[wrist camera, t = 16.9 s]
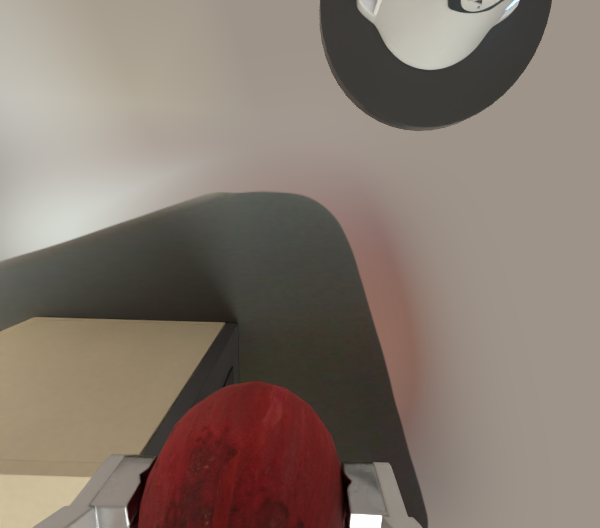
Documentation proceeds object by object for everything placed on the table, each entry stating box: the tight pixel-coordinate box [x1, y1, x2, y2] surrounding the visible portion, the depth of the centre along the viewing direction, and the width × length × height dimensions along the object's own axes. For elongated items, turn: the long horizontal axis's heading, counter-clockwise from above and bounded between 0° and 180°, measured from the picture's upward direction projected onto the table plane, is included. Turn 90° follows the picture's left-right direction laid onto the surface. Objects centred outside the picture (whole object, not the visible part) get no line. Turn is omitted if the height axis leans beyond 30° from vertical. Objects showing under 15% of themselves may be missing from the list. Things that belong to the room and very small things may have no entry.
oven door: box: [142, 323, 239, 456], centre depth 33 cm, size 7×32×24 cm, turn 179°
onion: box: [138, 381, 345, 528], centre depth 8 cm, size 6×6×8 cm
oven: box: [0, 317, 226, 528], centre depth 33 cm, size 28×32×24 cm
